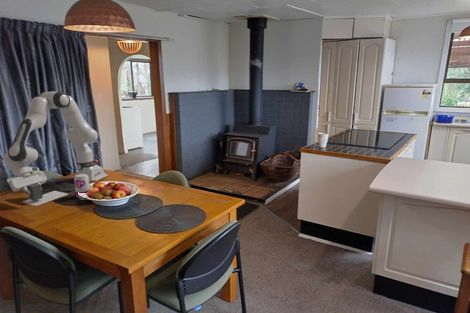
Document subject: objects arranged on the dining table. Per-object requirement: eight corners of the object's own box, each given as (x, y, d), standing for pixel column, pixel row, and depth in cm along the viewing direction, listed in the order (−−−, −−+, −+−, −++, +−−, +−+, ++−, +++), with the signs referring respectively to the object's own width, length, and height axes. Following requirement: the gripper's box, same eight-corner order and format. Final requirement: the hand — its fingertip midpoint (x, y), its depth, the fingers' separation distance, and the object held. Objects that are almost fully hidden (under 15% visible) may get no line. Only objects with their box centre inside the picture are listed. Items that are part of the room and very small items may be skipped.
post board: (55, 192, 219) (53, 180, 217) (69, 196, 213) (67, 183, 211) (21, 204, 200) (19, 191, 197) (36, 208, 193) (34, 194, 191)
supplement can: (87, 200, 206) (84, 177, 202) (74, 200, 206) (71, 177, 202) (92, 195, 213) (90, 173, 210) (80, 195, 214) (77, 173, 210)
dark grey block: (37, 196, 203) (35, 183, 201) (42, 197, 201) (40, 184, 199) (29, 199, 199) (27, 185, 197) (34, 200, 197) (32, 186, 195)
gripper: (6, 175, 190) (20, 194, 188) (40, 166, 208) (53, 183, 206) (3, 181, 193) (16, 200, 191) (37, 172, 211) (49, 189, 209)
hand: (35, 191), depth 199 cm, fingers closed on dark grey block, 5 cm apart
